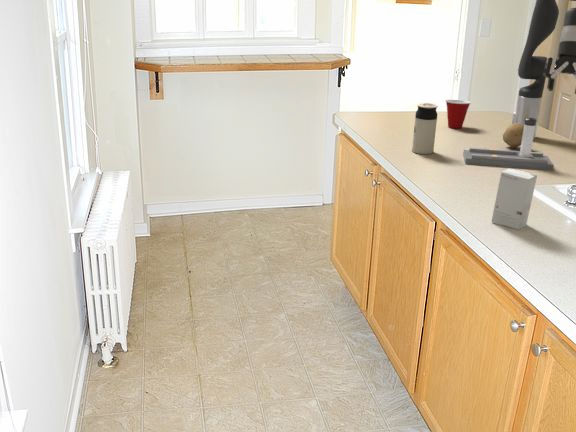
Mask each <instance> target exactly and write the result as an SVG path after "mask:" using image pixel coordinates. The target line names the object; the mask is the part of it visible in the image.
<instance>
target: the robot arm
mask: <svg viewBox="0 0 576 432" xmlns="http://www.w3.org/2000/svg"><path fill="white" fill-rule="evenodd" d="M569 1H572V2H576V0H569ZM559 13H560V10H559V6H558V4H557V1H556V0H536V1H535V4H534V8H533V11H532V14H531V15H532V16H531V20H530V25H529V29H528V34H527V37H526V42H525V45H524V48H523V51H522V53H521V54H522V55H521V57H520V60H519V64H518V69H517V75H518V77H519V78H520V79H522V80H532V81H533V80H535V81H533V83H531V84H528V85H526V86H523V87H520V88H519V90H518V95H517V102H516V107H515V112H513V115H512V121H511V122H512V123H511V125H512V124H514V123H519V124H522V125H523V126H524V121H525V118H535V119H537V121H536V125H535V131H534V137H533V140H534V139H536V135H537V130H538V123H539V119H540V111H541V106H542V100H543V93H544V90H545V83H546V78H547V80H548V81H547V85H546V87H547V90H548V92H553V91H554V86H555V80H556V79H555V77H557V76H558V75H559V74H560V73H561V74H567V75H572V76H573V77H574V78H575V79H576V7H571V8H569V9H567V10H566V11H565V15H564V19H563V25H562V30H561V34H560V39H559V44H558V51H557V57H556V58H553V57H547V56H540V55H538V56H537V55H534V53H535V51H536V50H537V48H538V47H539V46H540V45H541V44H542V43H543V42H545V40H547V39H548V38H549V37H550V36H551V34H553V32H554V30H555V28H556V25H557V22H558V18H559ZM554 63H555V66H556V67H555V69H554V70H553V71H552V72H551V69H552V66H553V65H554ZM574 95H576V87H575V89H574Z"/></svg>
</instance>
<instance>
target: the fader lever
mask: <svg viewBox="0 0 576 432" xmlns="http://www.w3.org/2000/svg"><path fill="white" fill-rule="evenodd" d="M536 121H537V119H535V118H525V121H524V130H523V136H522V142H521V145H520V149H519V151H520V152H516V156H517V157H520V158H534V157H533V155H532V154H531V152H532V149H533V142H534V139H533V137H534V131H535V125H536Z"/></svg>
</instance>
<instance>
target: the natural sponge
mask: <svg viewBox="0 0 576 432" xmlns="http://www.w3.org/2000/svg"><path fill="white" fill-rule="evenodd" d="M523 130H524V126H523V125H522V124H519V123H514V124H512V123H511V124H510V125H508V127H507V128H506V129H505V130H504V132H503V134H502V141H503V143H505V144H506V145H508V146H509V147H510V148H512V149H516V148H519V147H521V142H522V136H523Z"/></svg>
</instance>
